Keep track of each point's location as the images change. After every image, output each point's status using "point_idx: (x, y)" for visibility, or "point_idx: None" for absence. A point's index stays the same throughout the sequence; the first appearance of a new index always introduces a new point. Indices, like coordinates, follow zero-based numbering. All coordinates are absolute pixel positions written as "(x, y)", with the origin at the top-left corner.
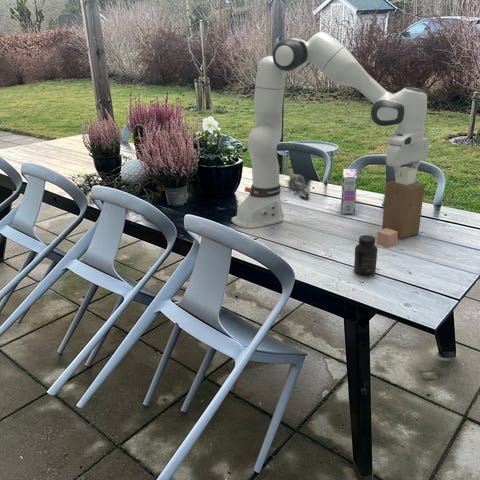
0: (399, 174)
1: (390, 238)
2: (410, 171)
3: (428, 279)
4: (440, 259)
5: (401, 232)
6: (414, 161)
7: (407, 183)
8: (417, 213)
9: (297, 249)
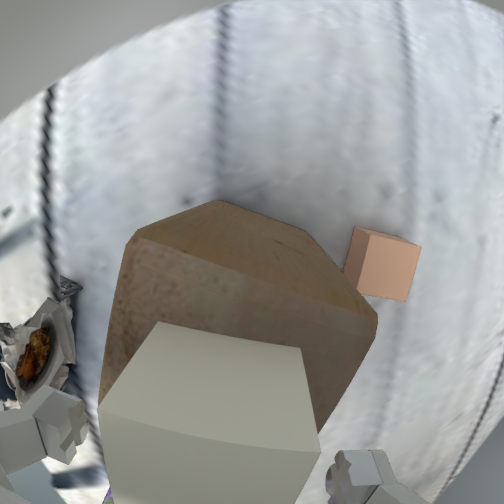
0: (388, 469)
1: (405, 241)
2: (269, 442)
3: (492, 71)
4: (376, 61)
5: (311, 237)
6: (5, 482)
7: (299, 356)
8: (226, 214)
9: (487, 403)
